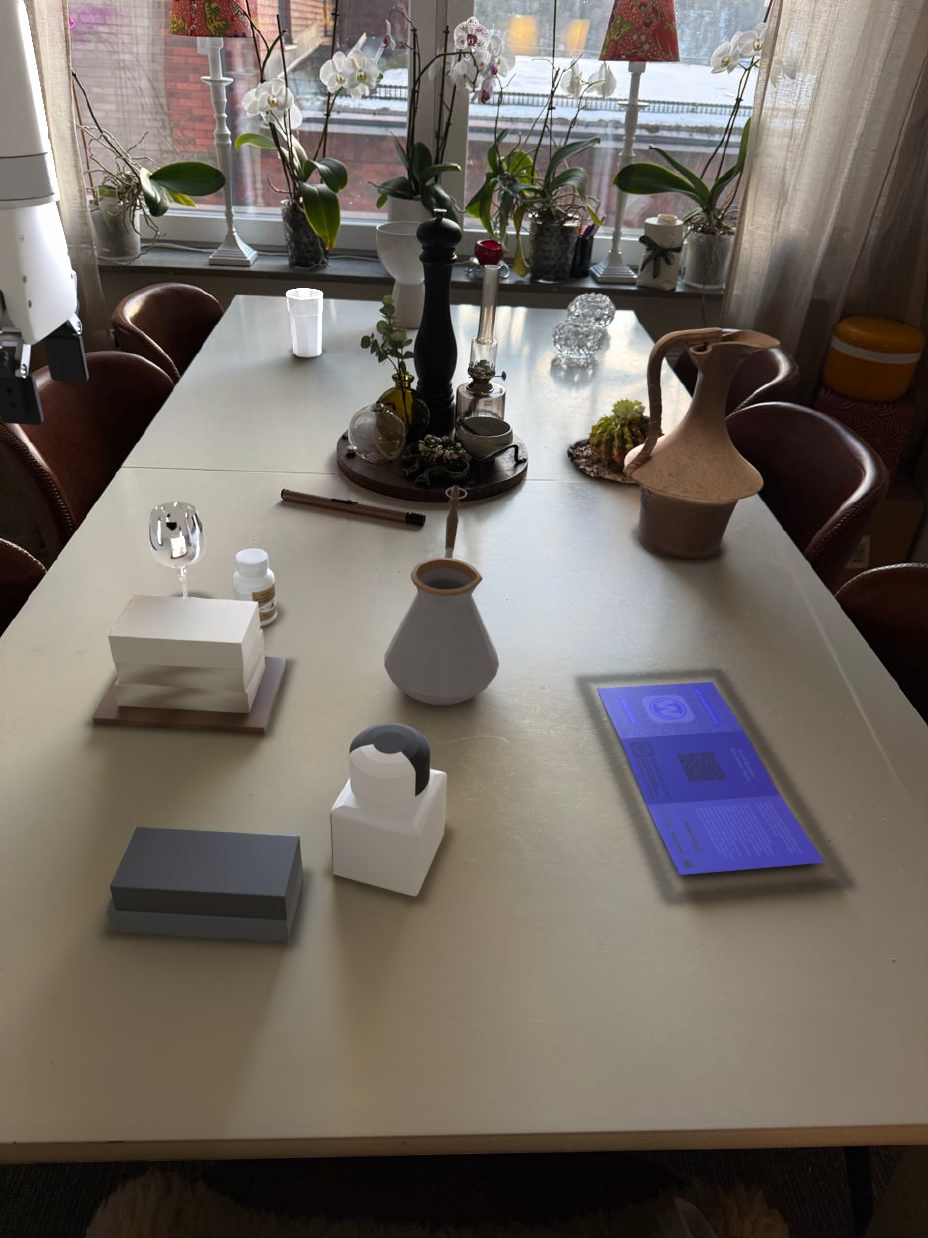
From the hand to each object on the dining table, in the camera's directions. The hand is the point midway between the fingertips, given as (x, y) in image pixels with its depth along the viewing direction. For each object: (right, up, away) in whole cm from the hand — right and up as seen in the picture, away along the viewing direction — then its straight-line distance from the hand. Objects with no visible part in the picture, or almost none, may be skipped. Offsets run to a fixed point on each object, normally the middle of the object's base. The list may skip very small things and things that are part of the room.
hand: (48, 400), depth 79 cm
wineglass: (+4, -17, +26) cm, 31 cm away
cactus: (+59, +5, +64) cm, 87 cm away
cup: (+5, +32, +100) cm, 105 cm away
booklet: (+56, -32, +7) cm, 65 cm away
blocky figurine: (+29, -38, -3) cm, 48 cm away
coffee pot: (+33, -22, +21) cm, 45 cm away
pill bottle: (+12, -18, +25) cm, 33 cm away
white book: (+9, -21, +10) cm, 25 cm away
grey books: (+16, -40, -8) cm, 44 cm away
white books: (+9, -26, +13) cm, 30 cm away
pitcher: (+63, -8, +44) cm, 77 cm away
